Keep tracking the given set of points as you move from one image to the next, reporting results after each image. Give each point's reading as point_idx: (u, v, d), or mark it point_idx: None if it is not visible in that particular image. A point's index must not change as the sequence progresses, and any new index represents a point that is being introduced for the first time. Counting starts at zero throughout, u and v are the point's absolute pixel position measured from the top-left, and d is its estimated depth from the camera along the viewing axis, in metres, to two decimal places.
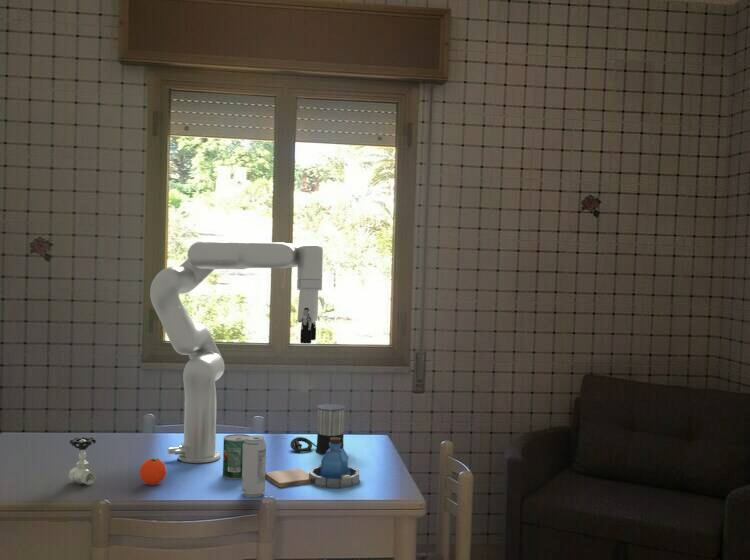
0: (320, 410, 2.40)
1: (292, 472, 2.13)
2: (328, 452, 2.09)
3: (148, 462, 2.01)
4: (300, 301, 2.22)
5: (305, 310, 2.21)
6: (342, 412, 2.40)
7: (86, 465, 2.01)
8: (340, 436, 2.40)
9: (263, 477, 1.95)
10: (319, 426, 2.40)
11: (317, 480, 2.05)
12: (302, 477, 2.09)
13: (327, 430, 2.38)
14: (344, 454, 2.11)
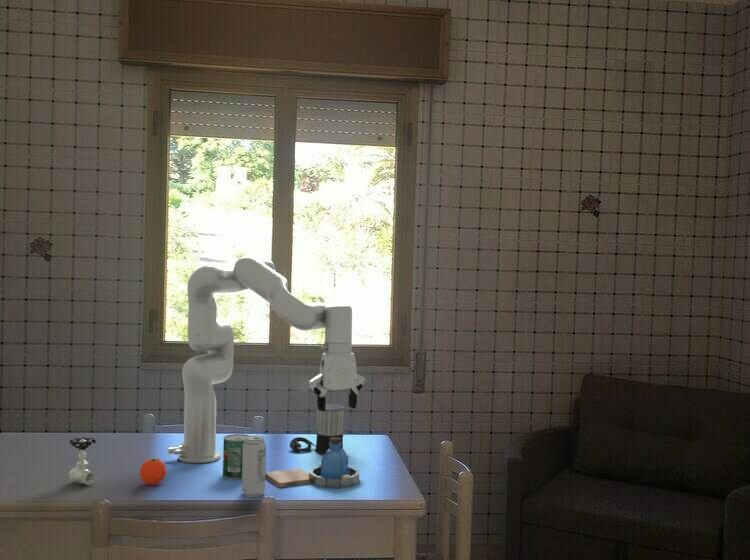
0: (319, 410, 2.39)
1: (292, 472, 2.13)
2: (328, 452, 2.09)
3: (148, 462, 2.01)
4: None
5: None
6: (341, 412, 2.40)
7: (86, 465, 2.01)
8: (339, 436, 2.40)
9: (263, 477, 1.95)
10: (318, 426, 2.40)
11: (317, 480, 2.05)
12: (302, 477, 2.09)
13: (327, 430, 2.38)
14: (344, 454, 2.11)
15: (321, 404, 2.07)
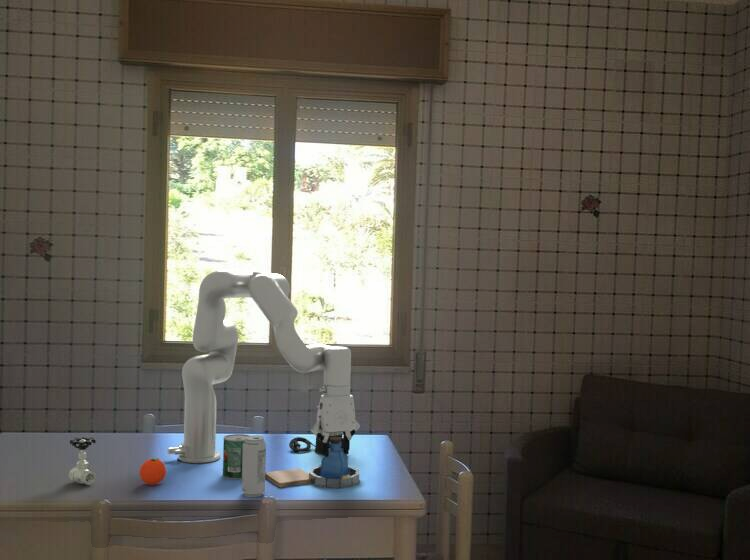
0: None
1: (292, 472, 2.13)
2: None
3: (148, 462, 2.01)
4: (354, 407, 2.11)
5: None
6: None
7: (86, 465, 2.01)
8: (339, 436, 2.40)
9: (263, 477, 1.95)
10: None
11: (317, 480, 2.05)
12: (302, 477, 2.09)
13: None
14: (344, 454, 2.11)
15: (324, 449, 2.08)
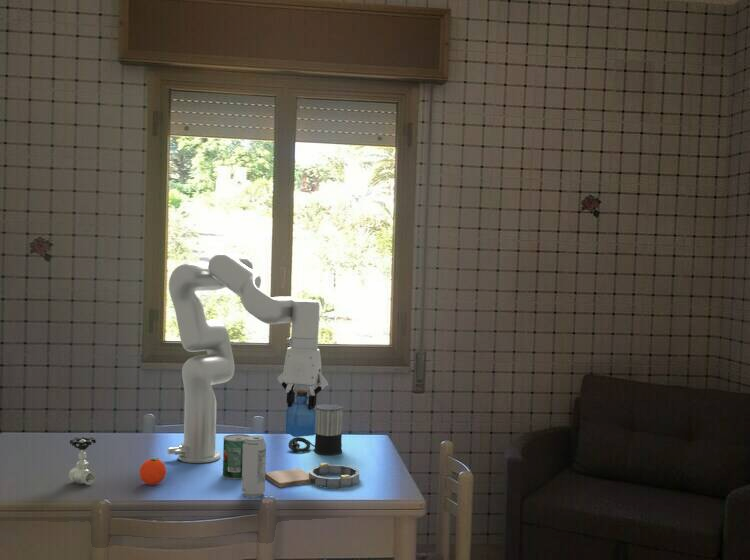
0: (318, 410, 2.39)
1: (292, 472, 2.13)
2: (292, 403, 2.10)
3: (148, 462, 2.01)
4: (316, 363, 2.07)
5: (320, 374, 2.08)
6: (340, 412, 2.40)
7: (86, 465, 2.01)
8: (338, 436, 2.40)
9: (263, 477, 1.95)
10: (317, 426, 2.40)
11: (317, 480, 2.05)
12: (302, 477, 2.09)
13: (325, 430, 2.38)
14: (307, 409, 2.08)
15: (288, 399, 2.11)
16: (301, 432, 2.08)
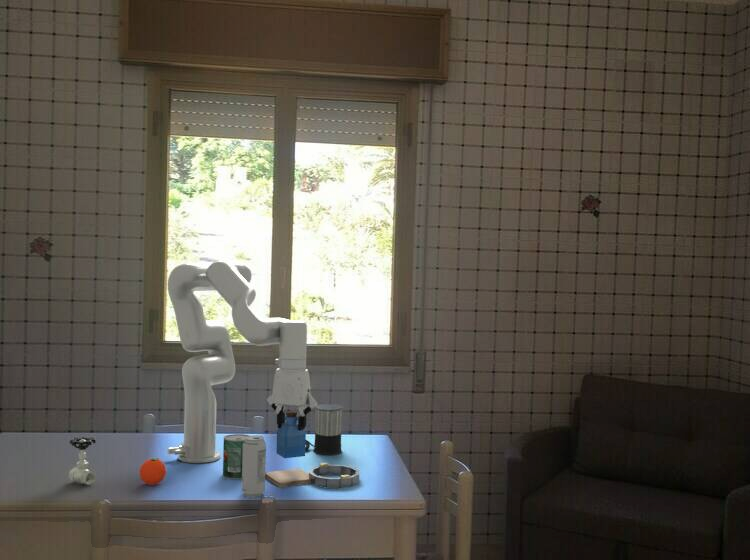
0: (318, 410, 2.39)
1: (292, 472, 2.13)
2: (282, 424, 2.10)
3: (148, 462, 2.01)
4: (305, 383, 2.06)
5: (309, 394, 2.08)
6: (340, 412, 2.40)
7: (86, 465, 2.01)
8: (338, 436, 2.40)
9: (263, 477, 1.95)
10: (317, 426, 2.40)
11: (317, 480, 2.05)
12: (302, 477, 2.09)
13: (325, 430, 2.38)
14: (296, 430, 2.08)
15: (278, 421, 2.11)
16: (291, 453, 2.07)
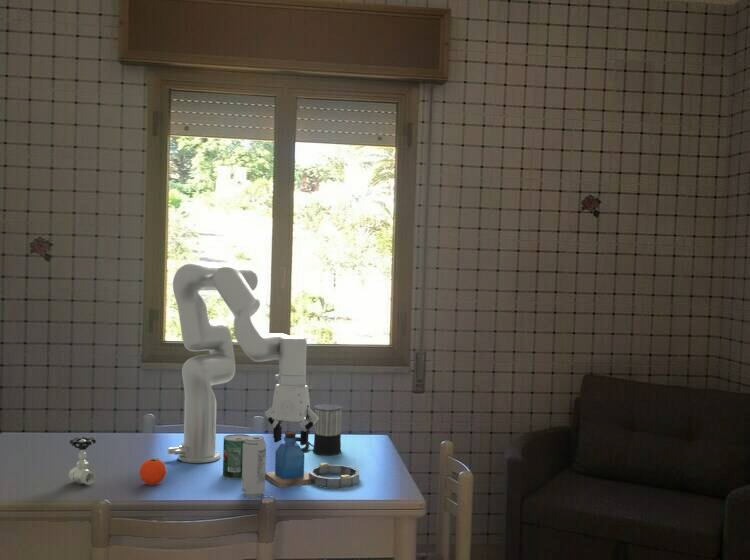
0: (317, 410, 2.39)
1: None
2: (281, 445, 2.11)
3: (148, 462, 2.01)
4: (304, 399, 2.07)
5: (309, 409, 2.08)
6: (339, 412, 2.40)
7: (86, 465, 2.01)
8: (337, 436, 2.39)
9: (263, 477, 1.95)
10: (316, 426, 2.40)
11: (317, 480, 2.05)
12: (302, 477, 2.09)
13: (324, 430, 2.38)
14: (295, 451, 2.09)
15: None
16: (290, 474, 2.07)
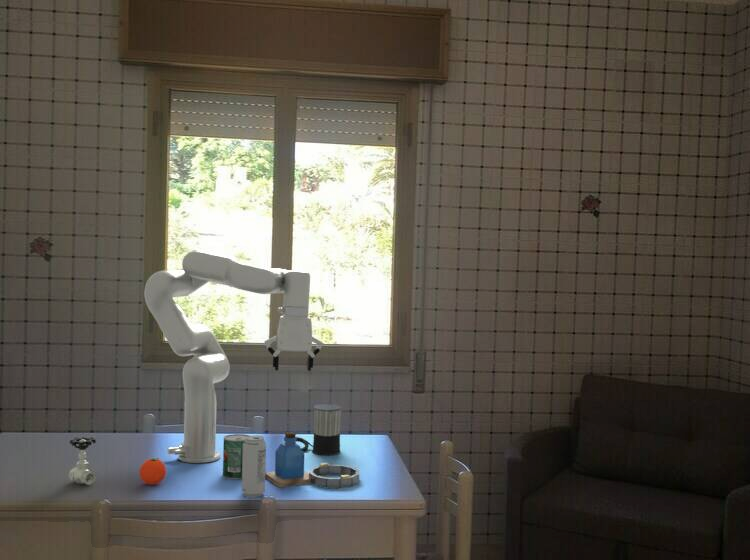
0: (316, 410, 2.39)
1: None
2: (281, 445, 2.11)
3: (148, 462, 2.01)
4: (311, 329, 2.20)
5: (313, 337, 2.22)
6: (338, 412, 2.39)
7: (86, 465, 2.01)
8: (336, 436, 2.39)
9: (263, 477, 1.95)
10: (315, 426, 2.39)
11: (317, 480, 2.05)
12: (302, 477, 2.09)
13: (324, 430, 2.38)
14: (295, 451, 2.09)
15: (275, 363, 2.19)
16: (290, 474, 2.07)
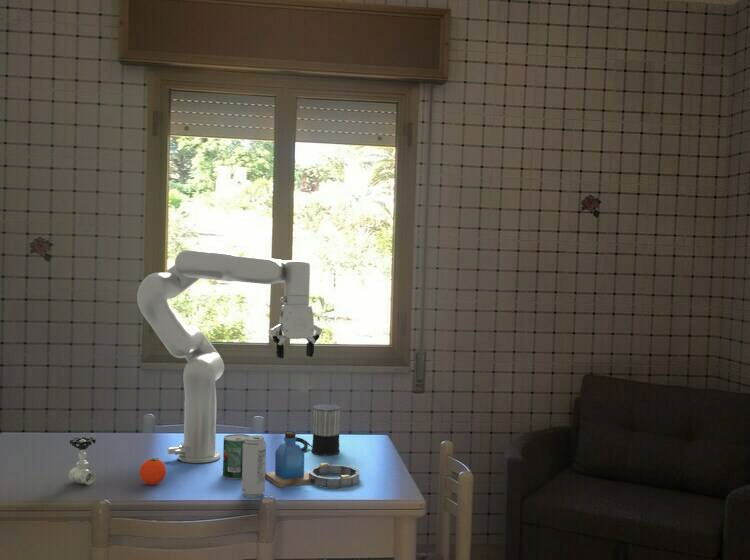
0: (315, 410, 2.39)
1: None
2: (281, 445, 2.11)
3: (148, 462, 2.01)
4: None
5: None
6: (338, 412, 2.39)
7: (86, 465, 2.01)
8: (335, 436, 2.39)
9: (263, 477, 1.95)
10: (314, 426, 2.39)
11: (317, 480, 2.05)
12: (302, 477, 2.09)
13: (323, 430, 2.38)
14: (295, 451, 2.09)
15: (280, 351, 2.24)
16: (290, 474, 2.07)
